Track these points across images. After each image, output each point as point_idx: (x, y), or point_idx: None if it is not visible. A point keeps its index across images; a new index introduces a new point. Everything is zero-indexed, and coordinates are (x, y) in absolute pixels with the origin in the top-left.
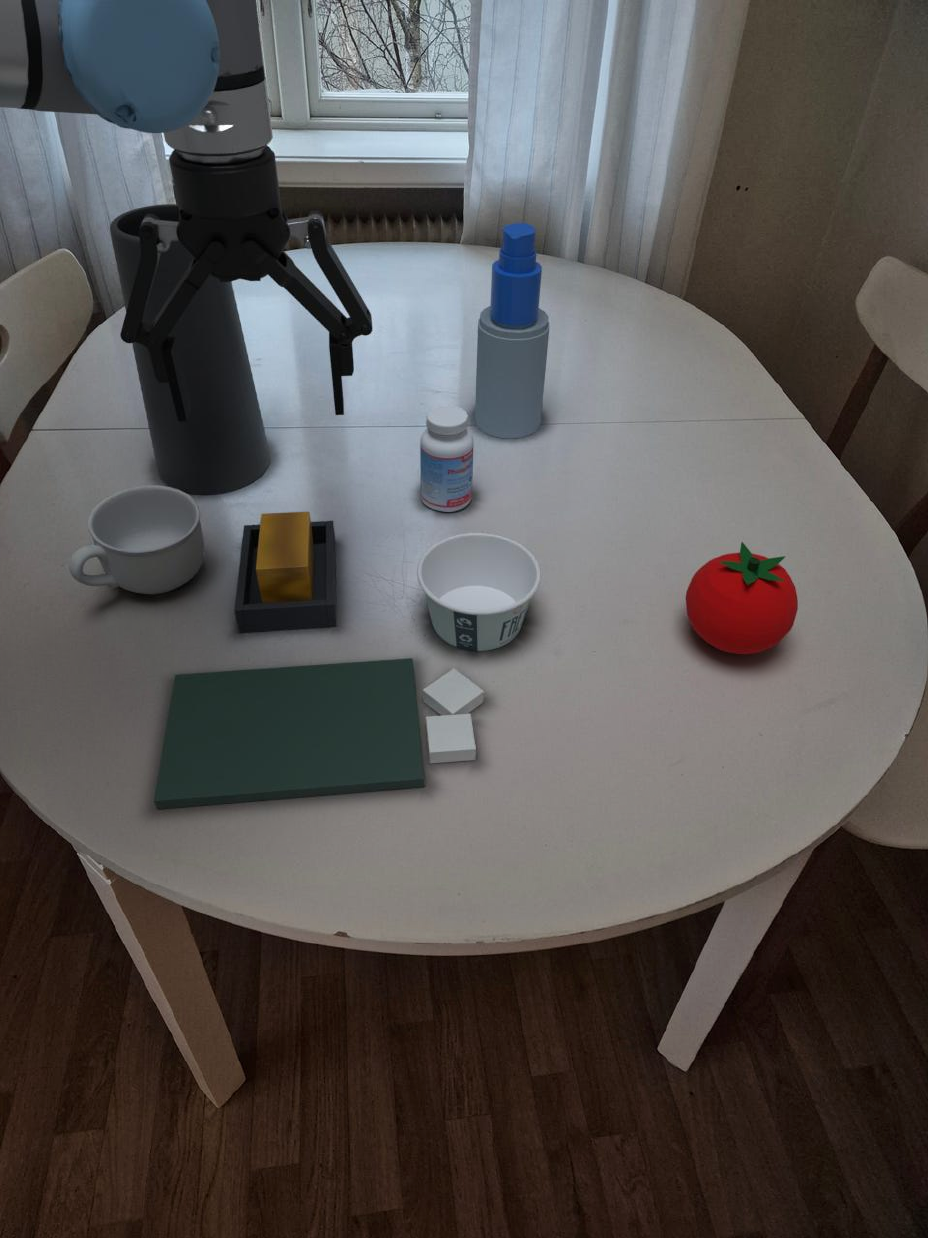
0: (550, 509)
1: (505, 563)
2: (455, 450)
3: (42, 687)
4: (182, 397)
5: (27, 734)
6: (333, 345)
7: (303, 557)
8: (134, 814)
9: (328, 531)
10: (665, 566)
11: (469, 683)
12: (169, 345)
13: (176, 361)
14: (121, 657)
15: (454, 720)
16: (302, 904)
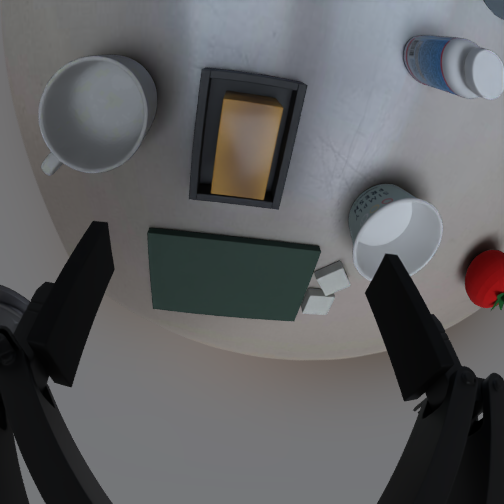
0: (483, 117)
1: (425, 209)
2: (468, 98)
3: (65, 214)
4: (99, 294)
5: (72, 247)
6: (411, 399)
7: (261, 186)
8: (143, 302)
9: (297, 103)
10: (496, 204)
11: (345, 279)
12: (56, 371)
13: (73, 337)
14: (105, 196)
15: (324, 299)
16: (224, 345)
